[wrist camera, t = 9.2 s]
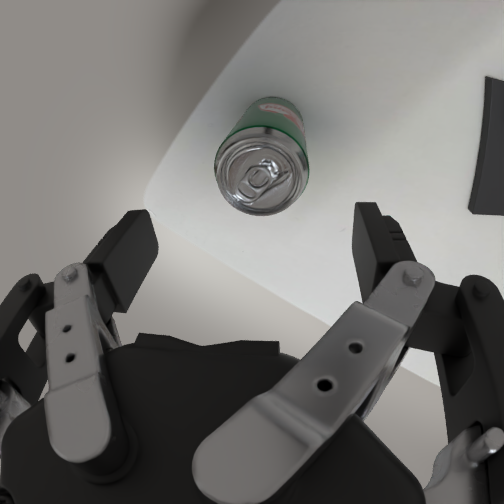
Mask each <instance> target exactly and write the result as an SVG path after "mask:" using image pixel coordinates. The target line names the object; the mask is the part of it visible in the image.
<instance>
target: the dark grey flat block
mask: <svg viewBox="0 0 504 504" xmlns="http://www.w3.org/2000/svg"><path fill="white" fill-rule="evenodd" d="M468 209H469V210H470V212H471V213H472V214H481V215H501V216H504V81H501V80H497V79H494V78H490V77H487V76H486V83H485V102H484V115H483V125H482V134H481V142H480V149H479V156H478V162H477V168H476V173H475V179H474V184H473V189H472V193H471V198H470V202H469V207H468Z"/></svg>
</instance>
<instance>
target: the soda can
mask: <svg viewBox="0 0 504 504" xmlns="http://www.w3.org/2000/svg"><path fill="white" fill-rule="evenodd" d="M214 172H215V177H216V181H217V183H218V186H219V189H220V191H221V193H222V195H223V196H224V198H225V199H226V200H227V201H228V203H230V204H231V205H232V206H233V207H234V208H236V209H238V210H239V211H241V212H244V213H246V214H250V215H255V216H269V215H273V214H277V213H279V212H281V211H283V210H285V209H287V208H288V207H289V206H290V205H291V204H292V203H294V202H295V201H296V200H297V199H298V198H299V197H300V196H301V194H302V193H303V191H304V190H305V188H306V185H307V183H308V178H309V162H308V154H307V147H306V139H305V132H304V125H303V119H302V116H301V114H300V112H299V111H298V110H297V108H296V107H295V106H294V105H293V104H291V103H290V102H288V101H286V100H284V99H281V98H276V97H268V98H263V99H260V100H258V101H256V102H255V103H253V104H252V105H251V106H250V107H249V108H248V109H247V111H246V112H245V113H244V115H243V116H242V117H241V119H240V120H239V121H238V122H237V124H236V125H235V126H234V128H233V129H232V130H231V132H230V133H229V135H228V136H227V137H226V139H225V140H224V141H223V143H222V144H221V146H220V147H219V149H218V151H217V154H216V157H215V163H214Z"/></svg>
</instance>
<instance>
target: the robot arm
mask: <svg viewBox="0 0 504 504" xmlns="http://www.w3.org/2000/svg"><path fill="white" fill-rule="evenodd" d="M352 253H353V258H354V263H355V267H356V272H357V277H358V282H359V287H360V292H361V297H362V302H363V304H362V303H360V302H358V301H355V302H354V303H352V304H351V305H350V306H349V308H348V309H347V310H346V311H345V312H344V313H343V315H342V316H341V317H340V318H339V319H338V320H337V321H336V322H335V324H334V325H333V326H332V327H331V328H330V329H329V330H328V331H327V332H326V334H325V335H324V336H323V337H322V338H321V339H320V340H319V341H318V342H317V343H316V344H315V345H314V346H313V347H312V348H311V350H310V351H309V352H308V353H307V354H306V355H305V356H304V357H303V358H302V359H301V360H299V359H297V358H295V357H293V356H290V355H287V354H284V353H280V347H279V341H247V340H246V341H245V340H240V341H235V342H228V343H221V344H214V345H207V346H199V345H196V344H193V343H189V342H187V341H184V340H180V339H177V338H174V337H172V336H166V335H156V334H146V333H139V334H138V336H137V338H136V341H135V343H131V344H127V345H124V346H122V345H121V341H120V338H119V335H118V331H117V328H116V324H115V321H114V319H113V317H112V314H113V312H120V313H126V312H127V310H128V308H129V306H130V304H131V303H132V301H133V299H134V297H135V295H136V293H137V291H138V289H139V288H140V286H141V284H142V282H143V281H144V279H145V277H146V275H147V273H148V272H149V270H150V268H151V266H152V264H153V263H154V261H155V259H156V257H157V255H158V241H157V238H156V234H155V231H154V228H153V224H152V221H151V218H150V214H149V212H148V211H147V210H145V209H144V210H132V211H128V212H127V213H126V214H125V215H124V216H123V218H122V219H121V220H120V221H119V222H118V224H117V225H115V226H114V227H112V228H111V229H110V230H109V231H108V232H107V233H106V234H105V235H104V237H103V239H101V240H100V241H99V243H98V245H96V247H95V248H94V249H93V250H92V252H91V253H90V254H89V255H88V257H87V258H86V259H85V260H84V262H83V263H75V264H71V265H69V266H67V267H65V268H64V269H62V270H61V271H60V272H59V273H58V274H57V275H56V277H55V280H54V282H50V283H45V284H43V282H42V280H41V279H40V277H39V275H38V274H29V275H27V276H25V277H23V278H22V279H20V280H19V281H18V282H17V283H16V285H15V286H14V287H13V288H12V290H11V291H10V292H9V294H8V295H7V296H6V298H5V299H4V301H3V302H2V303H1V305H0V459H1V475H0V504H504V300H503V298H502V296H501V294H500V292H499V290H498V288H497V287H496V285H495V284H494V283H493V282H491V281H490V280H489V279H487V278H485V277H482V276H479V275H469V276H466V277H465V278H463V280H462V282H461V284H460V287H457V286H453V285H448V284H444V283H440V282H437V281H435V276H434V274H433V272H432V271H431V270H430V269H429V268H428V267H426V266H425V265H423V264H421V263H418V262H417V260H416V258H415V256H414V254H413V252H412V250H411V247H410V245H409V243H408V241H407V240H406V237H405V235H404V233H403V231H402V229H401V227H400V225H399V223H398V222H397V221H396V220H394V219H393V218H392V217H391V216H382V214H381V212H380V210H379V208H378V206H377V204H376V202H356V203H355V209H354V223H353V235H352ZM27 319H29V320H30V322H31V323H32V325H33V326H34V327H35V329H36V330H37V333H36V335H35V336H34V338H33V340H32V342H31V343H30V345H29V347H28V349H27V351H26V352H24V350H23V349H22V348H21V347H20V345H19V342H18V335H19V332H20V331H21V329H22V328H23V326H24V324H25V323H26V321H27ZM410 347H411V348H415V349H420V350H425V351H430V352H434V355H435V360H436V365H437V370H438V375H439V381H440V386H441V392H442V398H443V405H444V412H445V419H446V427H447V435H448V445H447V446H446V447H444V448H443V449H442V450H441V451H440V452H439V454H438V455H437V457H436V459H435V461H434V465H433V474H432V477H431V480H430V482H429V483H428V485H427V486H426V487H425V488H424V489H422V486H421V484H420V483H419V481H418V480H417V478H416V477H415V476H414V475H413V473H412V472H411V471H410V470H409V469H408V468H407V467H406V466H405V465H404V464H403V463H402V462H401V461H400V460H399V459H398V458H397V457H396V456H395V455H394V454H393V453H392V452H391V451H390V450H389V448H388V447H387V446H386V445H385V444H384V443H383V442H382V441H381V440H380V439H379V438H378V437H377V436H376V435H375V434H374V433H373V431H372V430H370V428H369V427H368V426H367V425H366V424H365V423H364V422H363V421H364V420H365V419H366V417H367V416H368V415H369V413H370V412H371V410H372V409H373V407H374V406H375V404H376V403H377V401H378V400H379V398H380V396H381V394H382V392H383V391H384V389H385V387H386V386H387V385H388V383H389V381H390V380H391V378H392V377H393V375H394V374H395V372H396V371H397V369H398V367H399V366H400V364H401V362H402V361H403V359H404V358H405V356H406V354H407V352H408V351H409V349H410ZM47 380H48V382H49V391H48V392H47V393H46V394H45V396H44V398H42V399H41V400H40V401H38V400H39V398H40V395H41V393H42V391H43V388H44V386H45V384H46V382H47Z"/></svg>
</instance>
